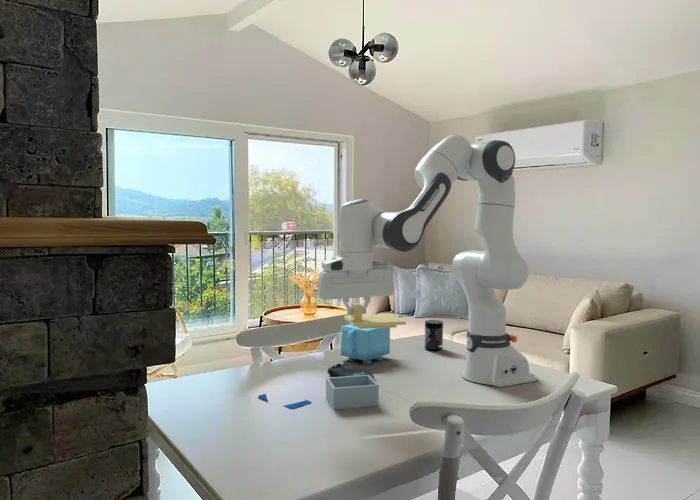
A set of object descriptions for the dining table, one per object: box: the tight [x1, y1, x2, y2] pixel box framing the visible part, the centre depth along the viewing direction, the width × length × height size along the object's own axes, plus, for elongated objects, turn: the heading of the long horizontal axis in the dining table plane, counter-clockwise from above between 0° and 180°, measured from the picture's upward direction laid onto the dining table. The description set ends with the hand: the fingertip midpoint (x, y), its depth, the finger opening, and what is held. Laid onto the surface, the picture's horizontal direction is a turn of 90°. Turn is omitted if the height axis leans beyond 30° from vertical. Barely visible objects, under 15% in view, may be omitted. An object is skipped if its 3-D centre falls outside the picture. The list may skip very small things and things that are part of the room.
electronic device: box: [327, 362, 375, 381], centre depth 163 cm, size 9×6×15 cm
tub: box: [325, 375, 380, 411], centre depth 142 cm, size 12×9×6 cm
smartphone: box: [257, 393, 312, 410], centre depth 144 cm, size 7×1×15 cm
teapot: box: [340, 323, 391, 365], centre depth 186 cm, size 22×11×14 cm, turn 141°
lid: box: [343, 302, 407, 329], centre depth 142 cm, size 14×10×6 cm
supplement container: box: [424, 319, 444, 352], centre depth 198 cm, size 7×7×10 cm
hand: (356, 314), depth 141 cm, fingers closed on lid, 2 cm apart
